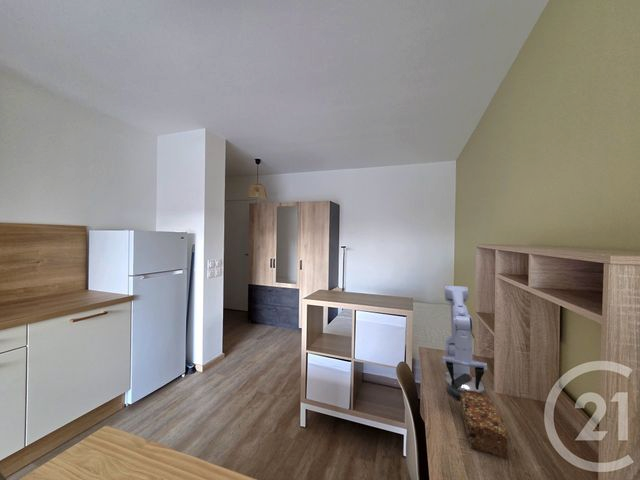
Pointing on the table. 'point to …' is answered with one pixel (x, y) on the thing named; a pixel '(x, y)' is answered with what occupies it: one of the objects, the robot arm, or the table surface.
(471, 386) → the lid
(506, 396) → the table surface
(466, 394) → the bread
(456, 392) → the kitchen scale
